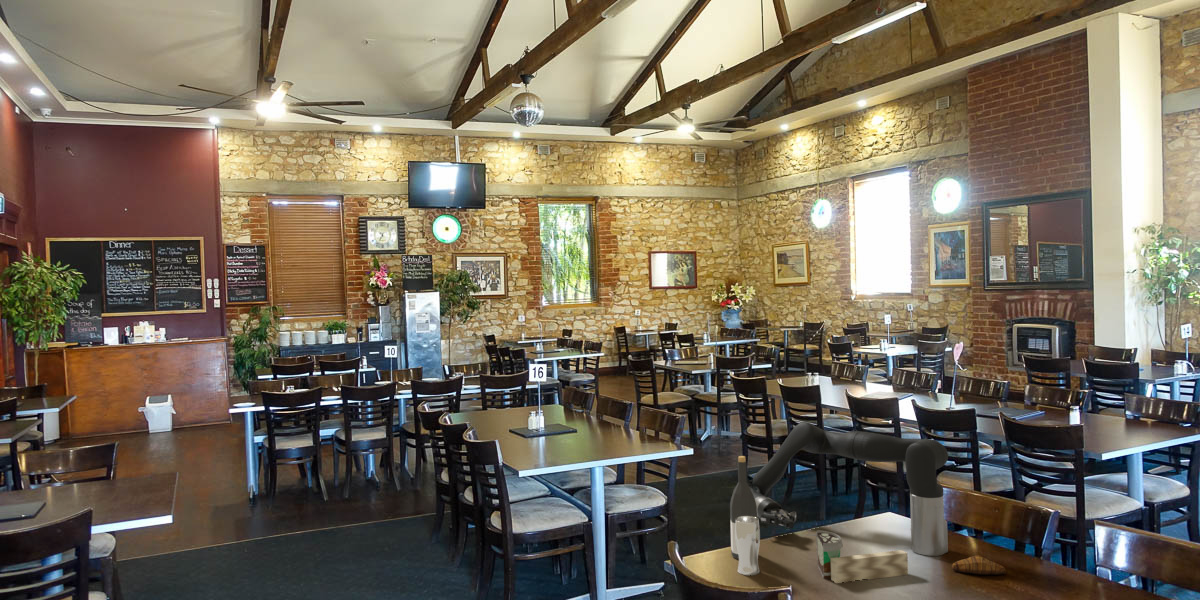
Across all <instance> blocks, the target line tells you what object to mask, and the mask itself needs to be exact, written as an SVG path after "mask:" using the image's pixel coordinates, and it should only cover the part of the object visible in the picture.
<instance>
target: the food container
mask: <svg viewBox="0 0 1200 600" xmlns="http://www.w3.org/2000/svg"><path fill="white" fill-rule="evenodd" d="M815 535H816V547H817V548H816V550H817V551H816V552H817V567H818V569H819V571H821V572H820V574H821V575H822V579H831V558H837V557H841V549H842V548H844V547H843V546H844V545H843V544H844V543H843V541H842V538H841V536H840V535H839V534H837V533H835V532H831V531H828V530H827V531H826V530H816V534H815Z"/></svg>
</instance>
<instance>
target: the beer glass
mask: <svg viewBox="0 0 1200 600" xmlns="http://www.w3.org/2000/svg"><path fill="white" fill-rule="evenodd" d="M760 528H761V527H760V518H759V517H753V516H739V517H737V518H736V522H735V539H736V545H737V550H738V555H739V559H738V566H737V572H738V574H740V575H743V576H750V575H751V576H757V575H758V574H760V567H759V560H758V559H759V549H760V541H761V530H760Z"/></svg>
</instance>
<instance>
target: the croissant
mask: <svg viewBox="0 0 1200 600" xmlns="http://www.w3.org/2000/svg"><path fill="white" fill-rule="evenodd" d="M951 569H952V570H953V571H955V572H958V573H965V574H973V575H979V576H981V575H982V576H983V575H984V576H985V575H986V576H987V575H989V576H991V575H992V576H998V575H1005V574H1006V567H1005V566H1002V565H1001V564H999V563H998V562H995V561H993V560H988V559H987V558H985V557H983V556H982V555H979V554H978V555H973V556H969V557H968V558H963V559H960V560H957V561H955V562H953V563H952V565H951Z"/></svg>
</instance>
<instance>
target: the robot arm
mask: <svg viewBox="0 0 1200 600" xmlns="http://www.w3.org/2000/svg"><path fill="white" fill-rule="evenodd" d="M801 450H803V451H805V452H807V453H811V454H819V455H820V454H824V455H825V454H827V455H836V456H842V457H844V458H849V459H853V460H856V461H857V460H858V461H864V462H870V463H891V462H903V463H904V462H905V471H906V472H905V475H906V481H907V485H908V487H909V498H910V501H909V502H910V503H909V505H910V506H909V507H910V508H909V509H910V543H911V547H910V548H911V550H912V552H914V553H916V554H918V555H923V556H932V557H935V556H937V557H939V556H942V555H944V554H946V553H948V552H949V548H948V545H949V542H948V541H949V540H948V521H947V520H946V519H945V510H944V507H945V506H944V487H943V485H942V484H941V483H939V482H938V480H937V470H939V469H940V468H942V467H944V466H945V465H946V463H947V462H948V459H949V453H948V450H947V448H946V447H945V445H943V444H942V443H941V442H940V441H938V440H935V439H929V438H922V439H921V438H920V439H919V438H918V439H917V438H905V437H904V438H903V437H902V438H901V437H896V436H891V435H887V434H880V433H876V432H875V433H874V432H869V431H860V430H856V431H855V430H852V431H848V432H843V433H841V432H840V433H838V432H832V431H829V430H825V429H822V428H820V427H819V426H817V425H814V424H812V423H811V422H808V421H807V422H806V421H802V422H799V423H798V424H796V425H795V426H794V427H793V429H792V430H791V431H790V433H789V434H788V435H787V437H786V438H785V440H784V441H783V443H781V445H780V446H779V448H778V449H777V451H776V452H775V453H774V454H773V456H772V457H771V458H770V459H769V460H768V461H767V462H766V464H764V466H762V468H761V469H760V470H758V471H757V472H756V473H755V474H754V475H753V478H752V481H753V484H754V485H755V486H756V488H757V490H755V489H754V488H752V487H751V486H749V485H748V486H749V487H750V489H751V491H752V493H753V496H754V498H755V502H756V506H757V518H758V519H759V520H760V523H761V524H766V525H772V526H775V527H778V526H782V527H785V528H787V529H794V526H795V522H796V521H797V512H796V511H792V512H790V513H789V512H788V511H787V510H785V509H784V508H783V507H782V506H781V504H779V503H778V502H776V501H774V500H773V499H771V498H770V497H769V496H768V497H767V494H768V493H769V491H770V490H771V489H772V488H773V487H774V486H775V485H777V483H778V482H779V481H780V480H781V479H782V477H783V476H784V475H785V473H786V470H787V468H788V465H789V463H790V461H791V459H792V458H793V457H794V456H795V455H796V454H797V453H798V452H799V451H801ZM735 488H736V486H734V487H733V489H732V492H733V491H734V489H735Z"/></svg>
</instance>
